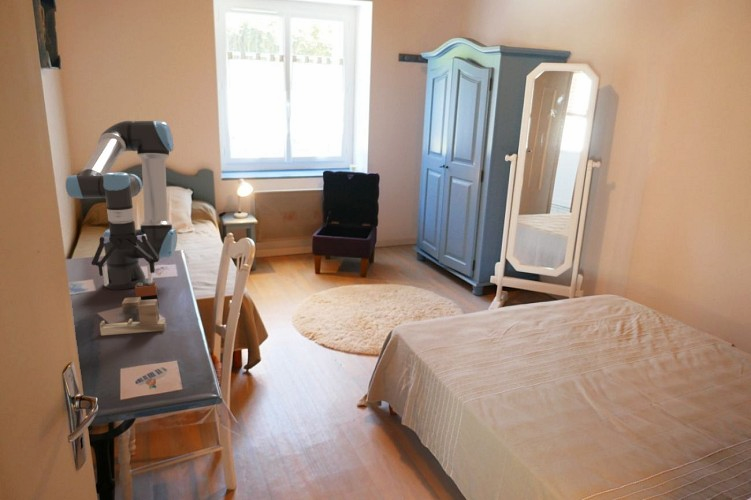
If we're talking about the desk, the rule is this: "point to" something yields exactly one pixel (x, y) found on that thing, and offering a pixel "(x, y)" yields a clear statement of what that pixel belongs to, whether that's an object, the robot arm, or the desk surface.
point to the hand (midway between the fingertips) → (128, 283)
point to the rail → (145, 318)
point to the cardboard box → (130, 308)
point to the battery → (147, 291)
